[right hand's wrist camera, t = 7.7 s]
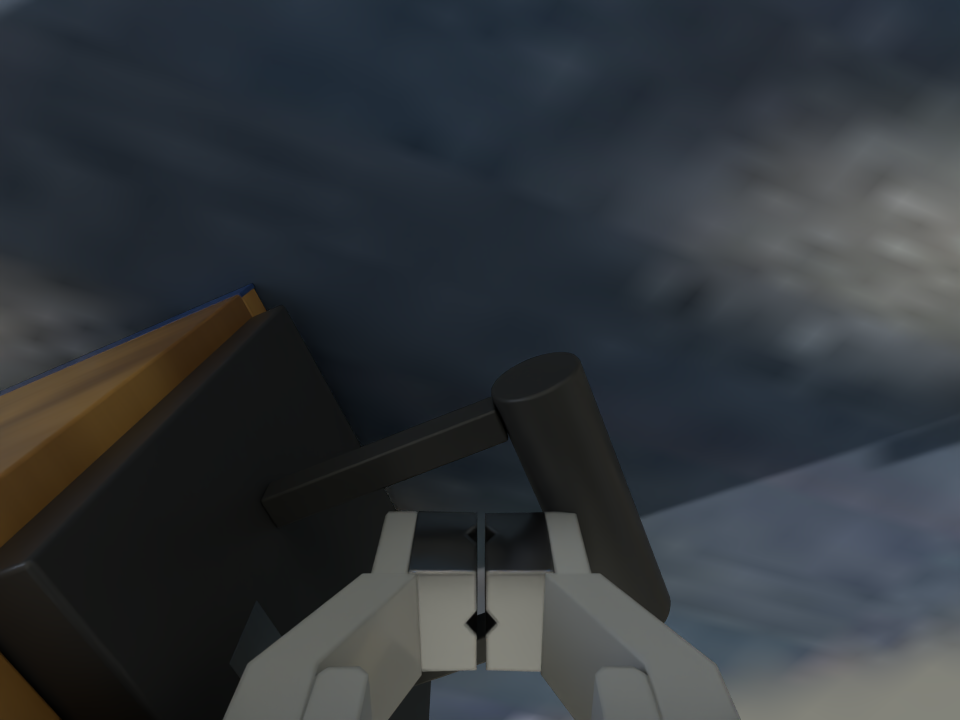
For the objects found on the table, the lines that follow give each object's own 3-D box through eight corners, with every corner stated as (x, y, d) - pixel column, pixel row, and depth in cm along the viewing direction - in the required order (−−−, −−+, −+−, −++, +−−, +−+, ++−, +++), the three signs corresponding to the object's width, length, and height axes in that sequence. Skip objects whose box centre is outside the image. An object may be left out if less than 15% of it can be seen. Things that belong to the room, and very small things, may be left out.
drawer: (511, 206, 14) (595, 338, 5) (629, 514, 17) (807, 920, 8) (-261, 533, 16) (-1078, 995, 8) (-37, 752, 19) (-443, 1264, 10)
